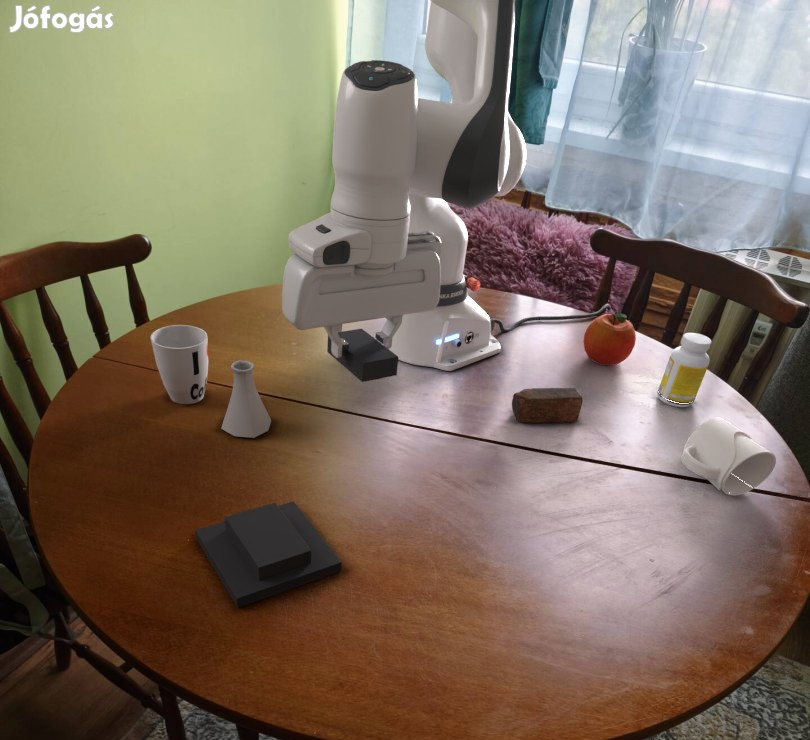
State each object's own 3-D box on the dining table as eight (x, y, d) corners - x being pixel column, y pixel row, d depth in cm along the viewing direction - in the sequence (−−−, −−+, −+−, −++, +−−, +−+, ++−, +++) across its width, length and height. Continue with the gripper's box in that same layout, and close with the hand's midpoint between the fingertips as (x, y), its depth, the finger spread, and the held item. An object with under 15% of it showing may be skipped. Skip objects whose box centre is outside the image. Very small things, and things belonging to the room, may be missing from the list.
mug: (718, 457, 110) (738, 413, 105) (762, 490, 104) (786, 446, 99) (659, 469, 106) (677, 424, 101) (701, 505, 100) (723, 459, 94)
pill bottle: (699, 408, 122) (725, 346, 115) (666, 409, 121) (690, 347, 113) (681, 390, 127) (704, 330, 120) (649, 391, 126) (671, 330, 118)
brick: (569, 411, 117) (575, 386, 114) (577, 423, 114) (584, 398, 111) (509, 412, 115) (514, 386, 112) (516, 424, 112) (521, 398, 109)
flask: (279, 420, 106) (277, 360, 100) (256, 443, 101) (253, 382, 94) (237, 409, 108) (232, 349, 101) (212, 431, 102) (206, 369, 96)
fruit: (620, 351, 138) (635, 301, 131) (633, 373, 131) (650, 322, 124) (573, 347, 137) (586, 297, 131) (584, 369, 130) (599, 318, 123)
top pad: (360, 346, 92) (361, 328, 90) (396, 375, 86) (398, 356, 85) (327, 352, 89) (327, 333, 88) (362, 382, 84) (363, 363, 82)
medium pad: (275, 514, 87) (274, 502, 85) (311, 563, 81) (311, 550, 79) (225, 529, 84) (224, 516, 82) (259, 580, 78) (258, 567, 76)
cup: (200, 413, 106) (193, 352, 99) (150, 403, 107) (140, 342, 100) (221, 388, 112) (216, 330, 106) (174, 380, 113) (166, 321, 106)
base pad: (293, 510, 90) (293, 501, 89) (341, 571, 82) (341, 562, 81) (196, 539, 84) (195, 529, 83) (237, 608, 76) (236, 598, 75)
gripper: (428, 222, 85) (416, 330, 94) (274, 234, 75) (276, 353, 84) (458, 238, 81) (442, 349, 90) (300, 252, 71) (300, 375, 80)
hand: (361, 351), depth 87 cm, fingers closed on top pad, 5 cm apart
